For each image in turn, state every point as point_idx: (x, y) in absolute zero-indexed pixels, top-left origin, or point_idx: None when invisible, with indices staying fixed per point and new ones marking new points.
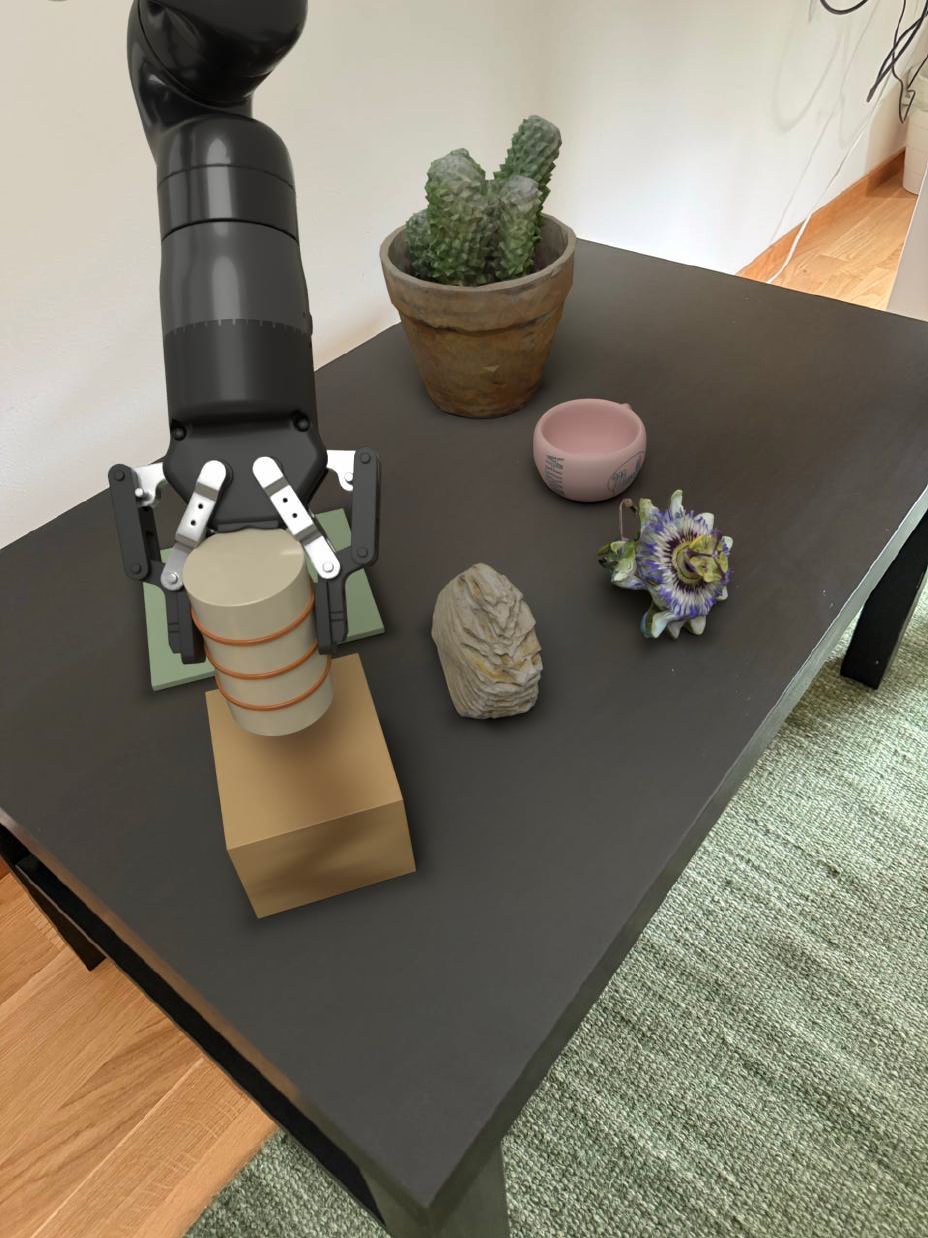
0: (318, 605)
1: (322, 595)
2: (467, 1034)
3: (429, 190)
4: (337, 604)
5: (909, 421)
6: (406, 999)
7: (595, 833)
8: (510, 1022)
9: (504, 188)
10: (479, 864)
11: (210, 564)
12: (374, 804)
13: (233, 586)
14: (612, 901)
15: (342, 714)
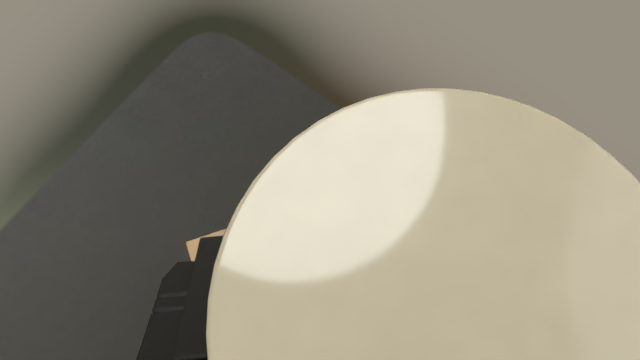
0: None
1: (195, 325)
2: (169, 119)
3: None
4: (163, 327)
5: None
6: (223, 145)
7: (6, 325)
8: (131, 128)
9: None
10: (146, 282)
11: (598, 303)
12: (223, 233)
13: (458, 178)
14: (10, 241)
15: None
